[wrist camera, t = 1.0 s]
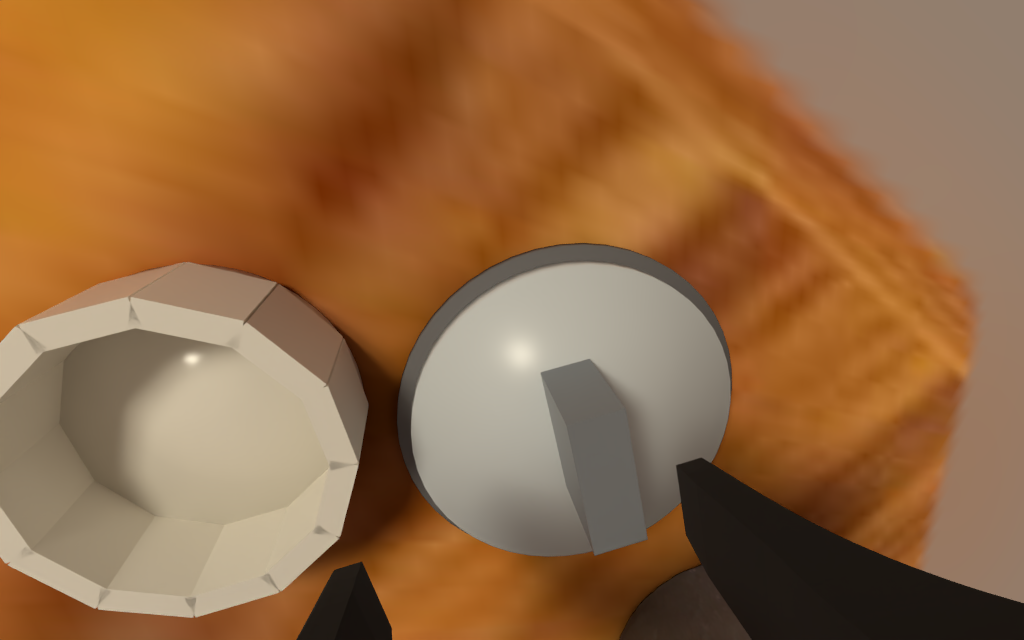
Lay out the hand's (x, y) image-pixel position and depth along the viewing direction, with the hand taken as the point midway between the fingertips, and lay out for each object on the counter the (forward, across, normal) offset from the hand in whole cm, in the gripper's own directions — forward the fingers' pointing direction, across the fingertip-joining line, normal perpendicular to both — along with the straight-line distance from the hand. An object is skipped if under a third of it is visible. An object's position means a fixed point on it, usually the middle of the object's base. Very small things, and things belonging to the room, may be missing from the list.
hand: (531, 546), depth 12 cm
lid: (+8, -3, +2) cm, 9 cm away
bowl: (+9, +9, -2) cm, 13 cm away
